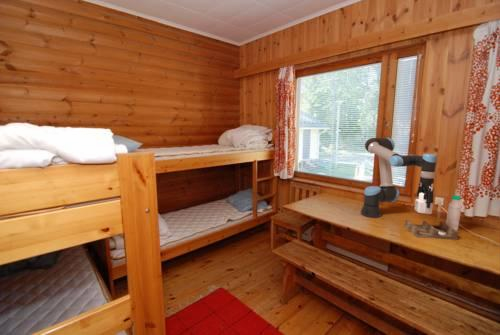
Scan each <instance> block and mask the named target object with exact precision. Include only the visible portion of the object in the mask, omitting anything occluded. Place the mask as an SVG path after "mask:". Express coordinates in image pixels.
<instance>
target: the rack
mask: <svg viewBox="0 0 500 335" xmlns="http://www.w3.org/2000/svg"><path fill="white" fill-rule="evenodd" d="M403 227H405V228H406V229H407V230H408V231H409V232H411V233H412V234H413V236H415V237H416V238H421V239H423V238H424V239H438V240H440V239H441V240H455V241H456V240H459V237H458V234H459V230H457V231H456V230H454V229H453V228H451V227H450V226H448V225H447V224H446V222H443V221H439V225H436V224H435V225H433V224H430V223H429V222H427V221H426V220H422V223H421V224H413V223H412V222H411V221H410V220H408V219H405V223H404V225H403ZM437 229H439V230H443V231H445V232H446V235H445V236H441V235H438V232H439V231H438V230H437Z"/></svg>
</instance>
